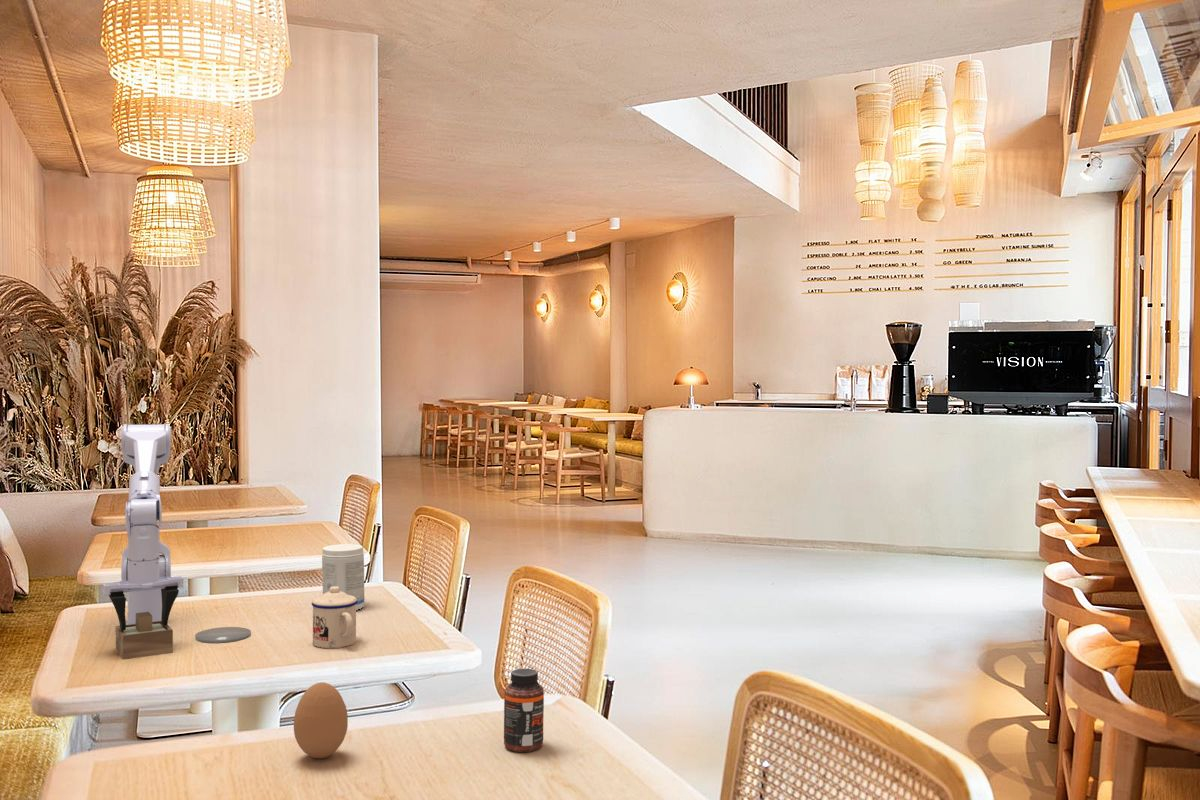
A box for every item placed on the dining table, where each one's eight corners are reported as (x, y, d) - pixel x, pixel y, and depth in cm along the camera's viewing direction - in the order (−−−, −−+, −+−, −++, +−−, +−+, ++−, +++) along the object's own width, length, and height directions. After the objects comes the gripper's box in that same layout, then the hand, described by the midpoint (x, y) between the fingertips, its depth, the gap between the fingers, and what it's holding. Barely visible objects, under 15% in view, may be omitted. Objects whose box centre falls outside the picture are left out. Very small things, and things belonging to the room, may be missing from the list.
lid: (121, 630, 205) (121, 613, 205) (159, 626, 209) (159, 608, 209) (127, 638, 199) (127, 620, 199) (166, 633, 203) (166, 615, 203)
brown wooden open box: (115, 648, 206) (115, 626, 205) (163, 642, 211) (163, 620, 210) (123, 659, 198) (123, 635, 198) (172, 652, 203) (172, 629, 203)
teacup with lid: (304, 642, 212) (304, 586, 211) (345, 635, 218) (345, 580, 217) (329, 655, 202) (329, 596, 202) (371, 647, 208) (371, 590, 208)
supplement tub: (364, 603, 247) (364, 543, 247) (364, 612, 238) (364, 549, 238) (322, 605, 245) (322, 544, 245) (321, 614, 236) (321, 550, 236)
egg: (290, 751, 151) (290, 678, 151) (342, 744, 154) (343, 673, 154) (297, 770, 144) (297, 693, 144) (352, 762, 147) (352, 687, 147)
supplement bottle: (538, 755, 151) (539, 678, 150) (499, 752, 152) (499, 676, 151) (547, 740, 157) (547, 667, 156) (509, 738, 158) (510, 665, 157)
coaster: (189, 634, 217) (189, 631, 217) (243, 627, 223) (243, 624, 223) (202, 645, 208) (202, 642, 208) (257, 638, 214) (257, 635, 214)
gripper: (106, 565, 197) (107, 635, 197) (186, 558, 205) (186, 626, 205) (101, 559, 202) (101, 628, 203) (179, 553, 210) (179, 619, 211)
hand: (143, 626), depth 204 cm, fingers open, 7 cm apart
